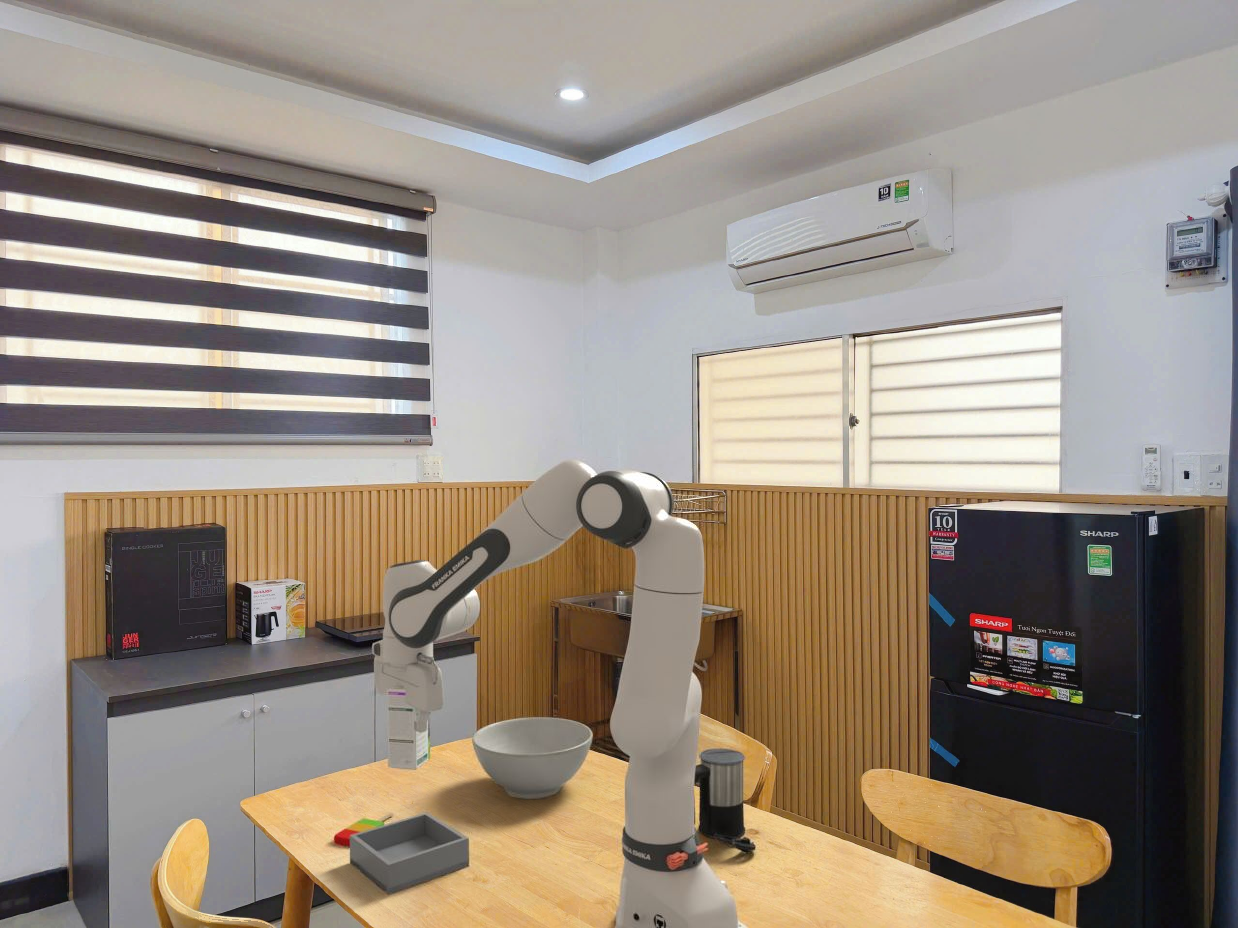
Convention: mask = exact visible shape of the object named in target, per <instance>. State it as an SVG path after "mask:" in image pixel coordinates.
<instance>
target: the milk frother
mask: <svg viewBox="0 0 1238 928" xmlns="http://www.w3.org/2000/svg"><path fill="white" fill-rule="evenodd" d="M698 757H699V759H700V764H696V768H695V780H694V787H695V786H696V784H697V782H698V781H699V798H698V799H699V800H698V801H699V805H698V806H699V809H698V810H699V811H698V812H699V813H698V819H699V820H698V821H699V824H698V831H699V832H700V833H701V834H703V835H704V836H705V837H709V838H712V839H715V840H716V841H718V842H720V843H723V844H726V845H729V846H730V847H733V848H735V849H737V850H738V851H739V850H740V851H741V852H742V853H745V854H748V853H749V851H755V850H756V848H757V846H756V844H755V842H754V841H751V838H750V837H746V836H743V835H744V834H745V833H746V827H745V820H744V819H745V818H744V813H745V812H744V811H745V810H744V761H745V759H746V756H745V754H744V753H742V752H741V751H738V750H735V749H731V748H720V747H719V748H709V749H705V750H702V751H700V752H699V754H698ZM695 796H696V795H695V794H694V826H695V825H696V806H695V805H696V798H695ZM741 836H743V837H741Z"/></svg>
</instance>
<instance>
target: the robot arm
mask: <svg viewBox="0 0 1238 928" xmlns="http://www.w3.org/2000/svg"><path fill="white" fill-rule="evenodd" d="M674 500H675V499H674V495H673V492H672V490H671V488H670V486H669V485H668V483H666V482H665V481H664V480H663V479H662V478H660V477H659V476H658V475H655V474H653V473H650V472H645V471H637V470H633V469H620V470H608V471H603V472H599V473H597V472H596V471H595V470H594V469H593V468H592V467H591V466H590V465H588V464H586V463H585V462H583V461H580V460H577V459H566V460H564V461H561V462H560V463H558V464H557V465H555V466H554V467H551V468H550V469H549V470H547V471H546V472H544V474H542V475H541V476H539V477H538V478H537V479H535V480H534V481H533V483H530V485H529V486H528V487H527V488H526V489H524V491H523V492H521V493H520V495H518V496H517V497H516V498H515V499H514V500H513V501H511V503H510V504H509V505H508V506H507V507H506V508H505V509H504V510H503V511H502V512H501V514H499V516H497V517H496V519H494V520H493V521H492V522H491V523H490V524H489V525H488V526H487V527H485V529H483V531H481V532H480V533H479V535H477V537H475V538H474V539H473V540H472V541H470V542H469V543H468V544H467V545H466V546H465V547H463V548H462V549H460V551H458V552H456V554H455V555H454V556H452V558H450V559H449V560H448V561H447V562H445V563H444V564H443V565H442V566H441V567H439V569H437V568H435V567H434V566H433V565H432V564H431V563H430V561H428V560H426V559H416V560H410V561H406V562H400V563H399V562H398V563H395V564H393V565H391V566H390V567H388V568H387V570H386V572H385V574H384V575H385V576H384V581H383V588H382V613H383V616H384V620H385V621H384V628H383V631H382V639H381V640H378V641H376V642H373V643H372V646H371V652H372V654H373V656H374V658H373V659H374V660H373V673H374V674H373V676H374V685H375V688H376V691H377V692H379V693H382V694H383V695H384V696H387V689H388V688H390V687H392V686H394V685H397V686H401V687H404V688H405V691H406V696H405V701H406V703H407V704H408V705H410V706H413V707H415V708H416V713H417V714H418V716H417V721H414V726H415V727H414V730H415V731H417V732H419V733H421V732H425V731H426V730H427V721H428V718H429V716H430V715H431V713H432V712H435V711H438V710H441V709H442V708H443V706H444V704H445V695H444V694H445V691H444V681H443V675H442V670H441V669H440V668H441V667H439V665H437V663H436V661H435V658H434V642H436V641H440V640H442V639H445V638H448V637H451V636H454V635H457V634H459V633H460V634H461V633H462V632H465V631H467V630H469V629H470V628H473V626H475V624H476V623H477V622H478V620H479V618H480V615H481V607H482V605H481V598H480V596H479V593H478V592H477V590H476V589H477V588H478V587H479V586H480V585H482V584H483V583H484V582H485V581H487V580H489V579H491V578H492V577H494V576H497V575H499V574H502V573H504V572H507V571H509V570H513V569H515V568H520V567H523V566H526V565H529V564H532V563H535V562H538V561H539V560H541V559H544V558H545V557H547V556H549V555H550V554H551V553H554V551H556V550H557V549H559V548H560V547H562V545H564V544H565V542H567V541H568V540H569V539H570V538H571V537H572V536H573V535H574V534H575V533H576V532H577V531H578V530H580V529H581V528H582V527H584V528H585V530H587V531H588V532H589V533H591V535H592V534H593V535H594V536H595V537H597V538H600V539H602V540H604V541H608V542H609V543H612V544H613V545H615V546H617V547H619V548H622V549H630V548H632V551H633V552H634V557H635V574H634V585H633V597H632V607H631V619H630V628H629V634H628V635H629V637H628V642H627V646H626V652H625V655H624V659H623V663H622V668H621V672H620V676H619V682H618V688H617V693H616V698H615V703H614V706H613V708H612V712H611V716H610V720H609V727H610V729H609V730H610V733H611V737H612V739H613V741H614V743H615V745H616V746H617V747H618V748H619V749H620V751H622V752H623V753H624V754H625V755H627V756H629V761H628V766H627V771H626V772H625V773H626V774H625V777H624V826H623V828H622V835H621V836H622V837H621V849H622V851H621V852H622V855H623V857H624V860H623V869H622V873H621V874H622V875H621V879H620V887H619V895H618V896H619V897H618V899H619V900H618V905H617V908H616V909H617V910H616V913H615V917H614V919H615V926H614V928H749V927H748V926H746V925H745V924H744V923H742V922H741V921H740V920H739V919H738V911H737V904H736V901H735V898H734V896H733V894H732V893H731V892H730V891H729V888H728V885H727V883H726V881H725V880H723V879H720V878H719V876H718V875H717V874H716V873H715V871H714V870H713V868H712V867H711V866H710V865H709V863H708V862H707V861H706V860H705V858H704V852H706V851H708V850H709V849H708V848H707V846H708V845H709V843H708V842H704V843H702V844H701V840H700V836H699V833H698V831H697V828H696V826H695V825H694V795H695V786H694V780H695V768H696V765H697V758H698V757H697V756H698V750H699V749H698V748H699V738H700V737H699V735H700V727H701V726H700V725H701V724H700V723H701V708H702V695H703V693H702V691H703V690H702V685H701V682H700V681H699V679H698V677H697V675H696V674H695V673H694V672H693V669H694V664H695V659H696V654H697V650H698V647H699V644H700V638H701V637H700V636H701V627H702V626H701V625H702V615H703V614H702V613H703V603H704V592H705V591H704V589H705V553H704V552H705V551H704V542H703V541H704V540H703V535H702V533H701V531H700V529H699V527H698V526H696V524H694V523H693V522H691V521H689V520H687V519H685V518H683V517H678V516H672V515H673V511H674V508H675V501H674Z"/></svg>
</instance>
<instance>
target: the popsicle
mask: <svg viewBox="0 0 1238 928" xmlns="http://www.w3.org/2000/svg"><path fill="white" fill-rule="evenodd" d="M393 816H394V812H389V813H386V814H385V815H384V816H382V817H380V818H378V819H377V820H374V819H370V818H364V817H363V818H361V819H360V820H358V821H356V822H354V823H352V824H351V825H349V826H348V827H345V828H344V829H342V830H340V831H339V832H337V833H335V835H334V836H333V843H334V844H335V845H338V846H343V847H348V848H350V835H353V834H356V833H359V832H363V831H366V830H369V829H373V828H376V827H379V826H383V825H385V823H384V821H386V820H387V819H389V818H390V817H393Z"/></svg>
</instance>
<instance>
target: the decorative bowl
mask: <svg viewBox="0 0 1238 928" xmlns="http://www.w3.org/2000/svg"><path fill="white" fill-rule="evenodd" d="M593 736H594V735H593V730H591V728H590V727H589V726H587V725H586V724H583V723H581V722H579V721H575V720H571V719H565V718H559V717H545V716H544V717H543V716H542V717H541V716H538V717H535V716H533V717H520V718H512V719H506V720H502V721H498V722H493V723H491V724H488V725H486V726H483V727H481V728H480V729H478V730H477V731H475V733H474V734H473V736H472V738H471V741H472V746H473V749H474V750H473V751H474V753H475V755H476V758H477V760H478V762H479V763H480V766H481V767H482V769H483V770H484V772H485V773H486V774H487V775H488V777H489V778H490V779H491V780H493V782H495V783H496V784H497V785H498V786H500V787H502V788H504V789H505V793H507V795H510V796H511V797H514V798H518V799H522V800H523V799H524V800H534V799H536V800H537V799H543V798H544V799H545V798H547V797H550V796H553V795H555V794H557V793H559V792H560V790H561V789H562V787H561V786H563V785H564V784H566V783H567V782H569V781H571V779H573V777H574V776H575V775H576V774H577V773H578V772H579V770H580V768H581V767H582V766H583V764H584V762H585V760H586V758H587V756H588V754H589V751H590V749H591V745H592V743H593V738H594V737H593Z"/></svg>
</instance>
